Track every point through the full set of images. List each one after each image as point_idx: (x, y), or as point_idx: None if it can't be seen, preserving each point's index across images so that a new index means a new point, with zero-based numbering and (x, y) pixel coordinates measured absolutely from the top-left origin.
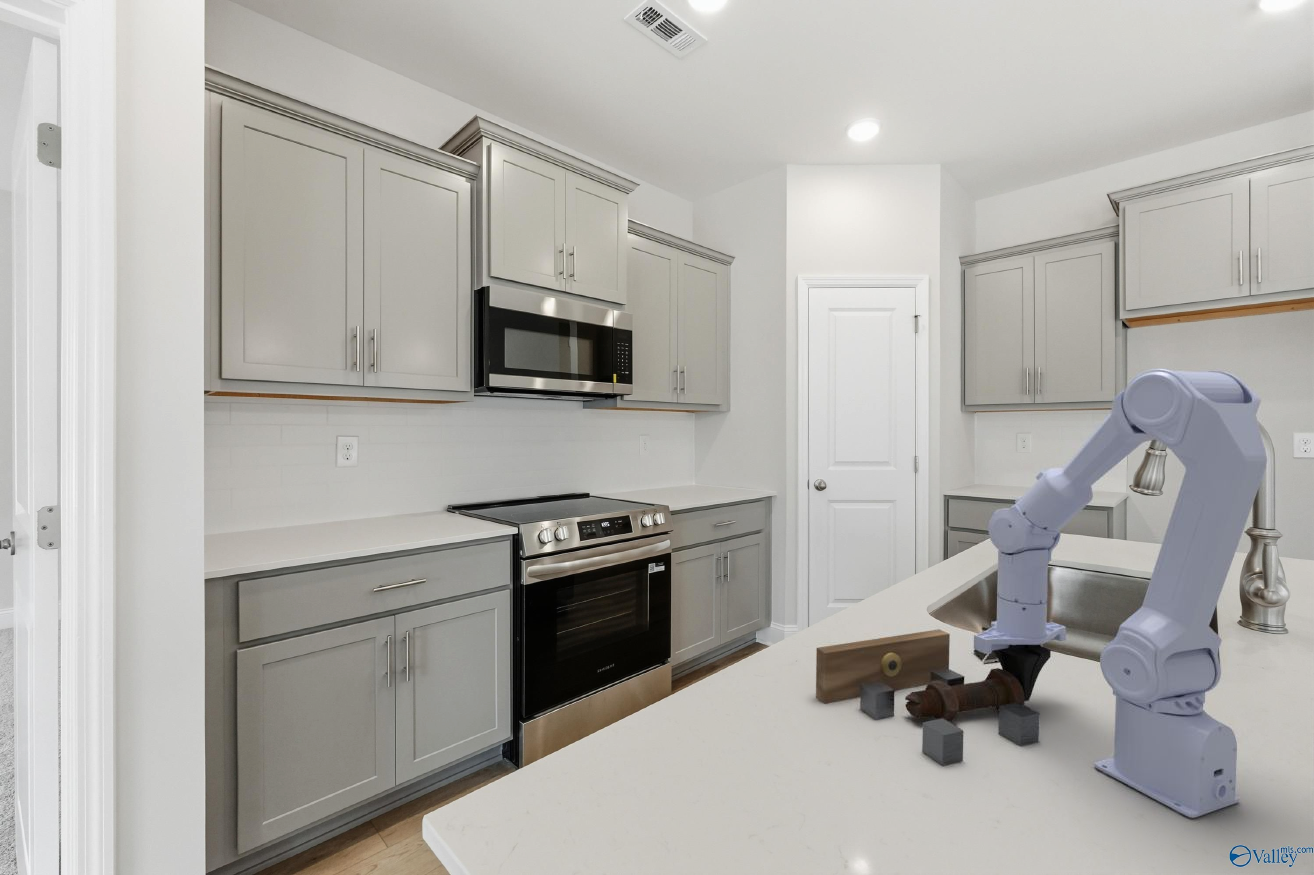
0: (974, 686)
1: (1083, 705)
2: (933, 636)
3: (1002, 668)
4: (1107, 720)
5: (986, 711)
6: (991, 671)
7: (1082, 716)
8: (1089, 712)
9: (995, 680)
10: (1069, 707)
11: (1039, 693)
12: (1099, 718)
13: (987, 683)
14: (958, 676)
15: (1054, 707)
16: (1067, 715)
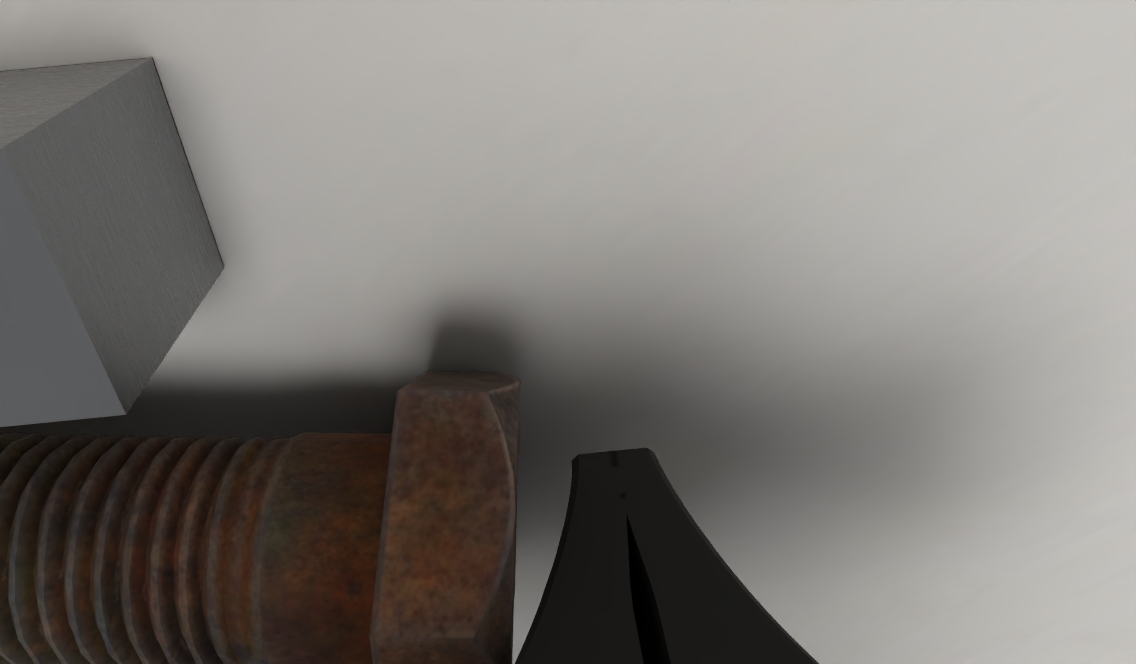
0: (62, 655)
1: (1082, 485)
2: None
3: (526, 640)
4: (980, 623)
5: (317, 426)
6: (373, 616)
7: (902, 576)
8: (1001, 551)
9: (331, 661)
10: (963, 488)
11: (1021, 286)
12: (966, 604)
13: (222, 661)
14: (47, 396)
15: (868, 471)
16: (829, 555)
